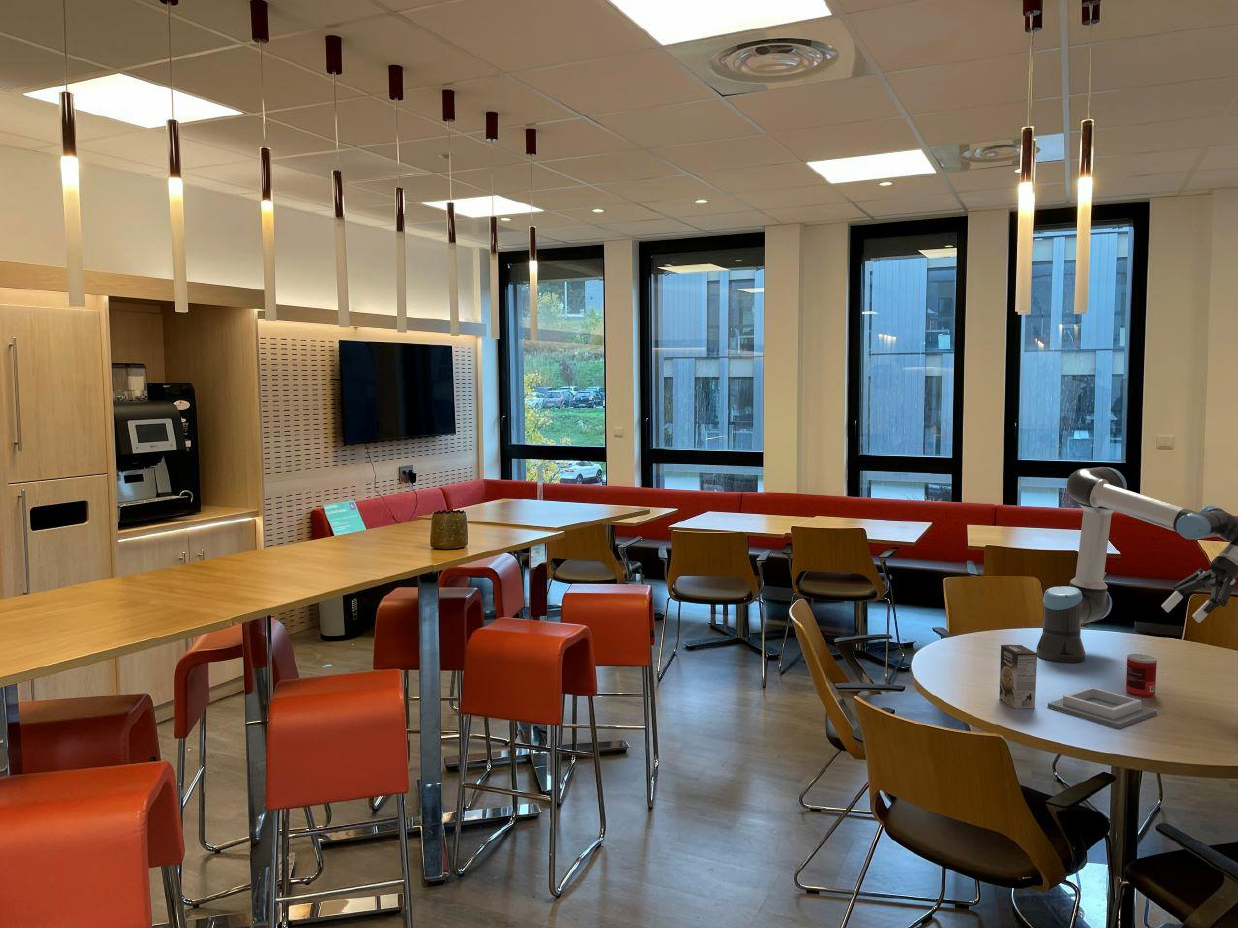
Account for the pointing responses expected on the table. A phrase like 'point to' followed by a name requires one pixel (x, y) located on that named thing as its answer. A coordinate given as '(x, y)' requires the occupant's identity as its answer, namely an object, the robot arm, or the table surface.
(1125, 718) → the end holder
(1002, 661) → the coffee box
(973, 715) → the table surface
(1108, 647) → the table surface
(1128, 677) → the canned food
